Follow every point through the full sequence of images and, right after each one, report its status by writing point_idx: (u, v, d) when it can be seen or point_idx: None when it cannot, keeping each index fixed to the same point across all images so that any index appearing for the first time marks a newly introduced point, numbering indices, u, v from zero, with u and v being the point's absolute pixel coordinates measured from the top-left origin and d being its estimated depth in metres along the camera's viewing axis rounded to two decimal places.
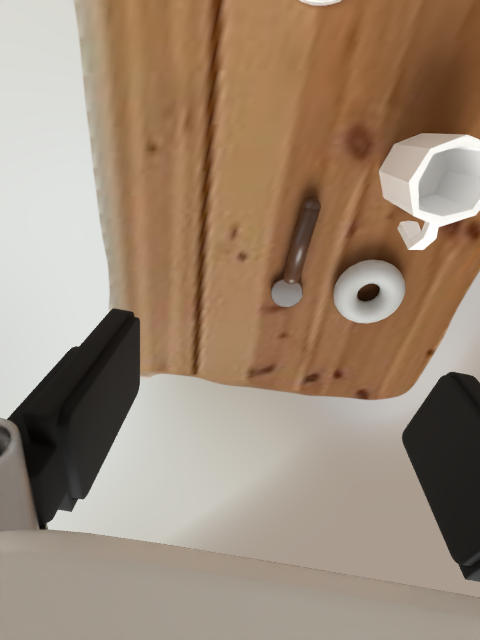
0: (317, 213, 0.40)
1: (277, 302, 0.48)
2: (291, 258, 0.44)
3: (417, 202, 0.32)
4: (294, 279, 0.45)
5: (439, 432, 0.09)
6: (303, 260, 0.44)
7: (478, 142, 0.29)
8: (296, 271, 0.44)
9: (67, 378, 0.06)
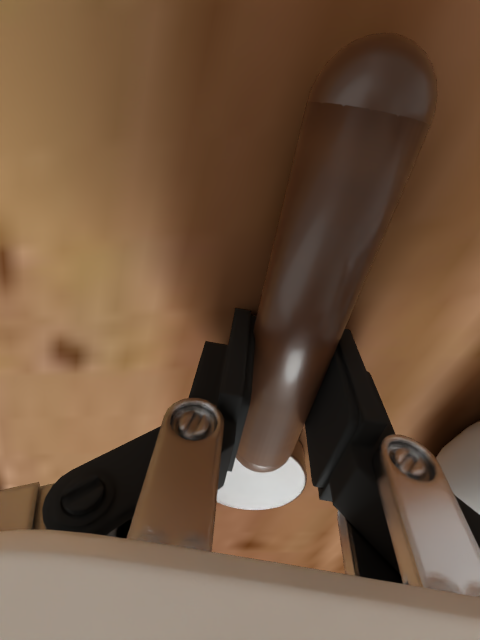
0: (413, 153, 0.06)
1: (218, 499, 0.14)
2: (254, 389, 0.09)
3: None
4: (272, 463, 0.10)
5: None
6: (311, 398, 0.09)
7: None
8: (277, 442, 0.10)
9: (236, 366, 0.07)
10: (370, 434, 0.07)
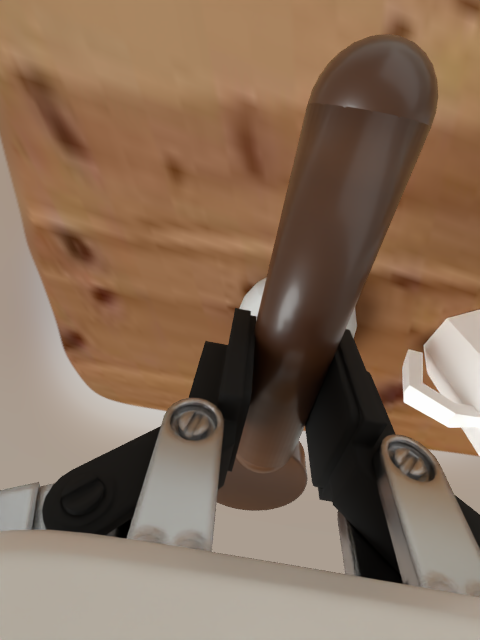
0: (414, 155, 0.06)
1: (218, 499, 0.14)
2: (255, 390, 0.09)
3: None
4: (272, 464, 0.10)
5: None
6: (312, 399, 0.09)
7: None
8: (278, 443, 0.10)
9: (236, 366, 0.07)
10: (370, 434, 0.07)
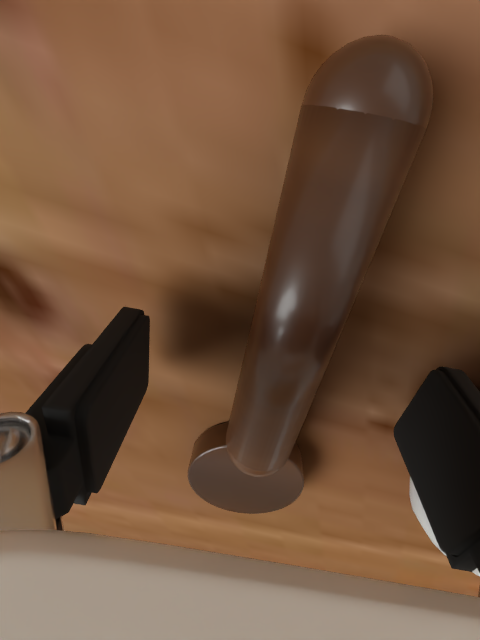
0: (409, 157, 0.06)
1: (215, 502, 0.14)
2: (250, 393, 0.09)
3: None
4: (268, 468, 0.10)
5: (428, 425, 0.09)
6: (308, 403, 0.09)
7: None
8: (273, 447, 0.10)
9: (83, 374, 0.06)
10: None
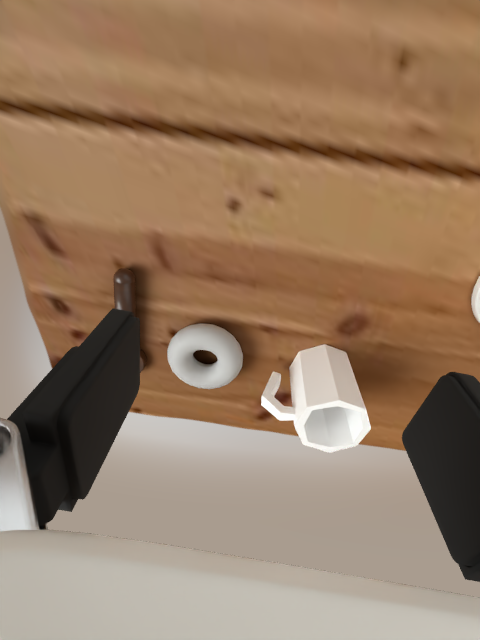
0: (129, 286, 0.36)
1: None
2: None
3: (319, 408, 0.33)
4: None
5: (439, 432, 0.09)
6: None
7: (362, 435, 0.35)
8: None
9: (67, 378, 0.06)
10: None
